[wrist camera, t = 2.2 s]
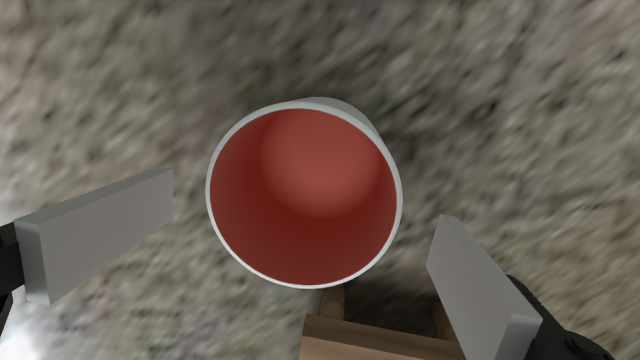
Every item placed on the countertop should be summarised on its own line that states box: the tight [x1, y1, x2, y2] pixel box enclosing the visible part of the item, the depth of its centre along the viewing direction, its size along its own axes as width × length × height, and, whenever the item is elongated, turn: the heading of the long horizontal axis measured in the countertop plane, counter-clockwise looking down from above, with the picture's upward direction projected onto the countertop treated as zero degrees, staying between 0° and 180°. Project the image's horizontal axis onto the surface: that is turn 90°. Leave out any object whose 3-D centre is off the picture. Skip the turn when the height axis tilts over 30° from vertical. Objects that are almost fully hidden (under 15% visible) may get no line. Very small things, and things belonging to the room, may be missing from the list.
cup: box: [205, 97, 403, 289], centre depth 20 cm, size 10×10×10 cm
